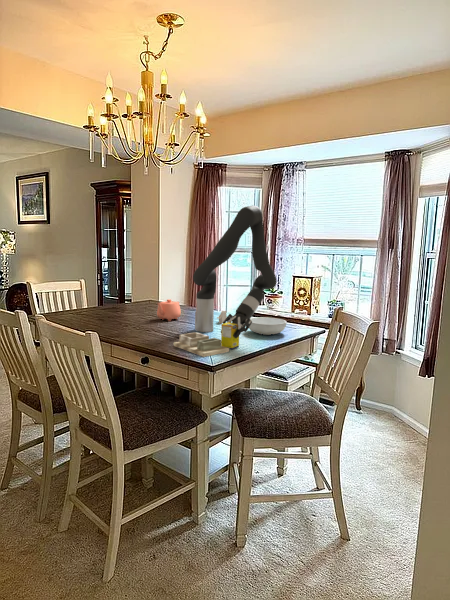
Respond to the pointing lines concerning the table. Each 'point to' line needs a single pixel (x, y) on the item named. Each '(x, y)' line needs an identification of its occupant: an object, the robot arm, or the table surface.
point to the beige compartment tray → (200, 344)
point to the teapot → (168, 310)
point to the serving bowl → (267, 325)
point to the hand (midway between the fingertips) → (228, 335)
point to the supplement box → (229, 335)
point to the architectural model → (222, 317)
